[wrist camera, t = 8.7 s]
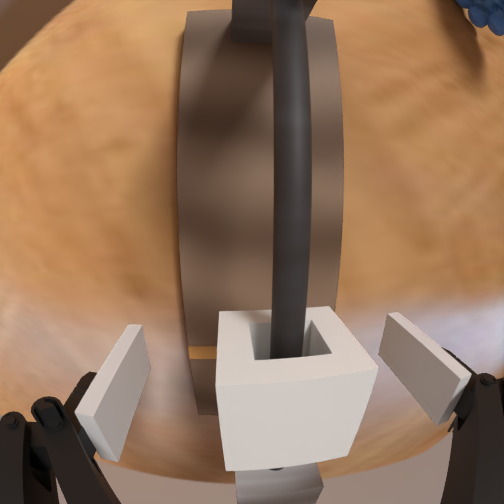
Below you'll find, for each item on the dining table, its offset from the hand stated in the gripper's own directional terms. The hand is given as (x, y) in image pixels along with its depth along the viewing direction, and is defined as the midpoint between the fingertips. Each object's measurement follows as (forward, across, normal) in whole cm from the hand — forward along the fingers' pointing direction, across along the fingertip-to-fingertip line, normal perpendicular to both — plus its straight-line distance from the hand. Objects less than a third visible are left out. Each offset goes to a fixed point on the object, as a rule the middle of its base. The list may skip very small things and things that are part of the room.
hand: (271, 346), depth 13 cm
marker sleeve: (-1, 0, 0) cm, 1 cm away
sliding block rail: (+6, 0, -6) cm, 8 cm away
